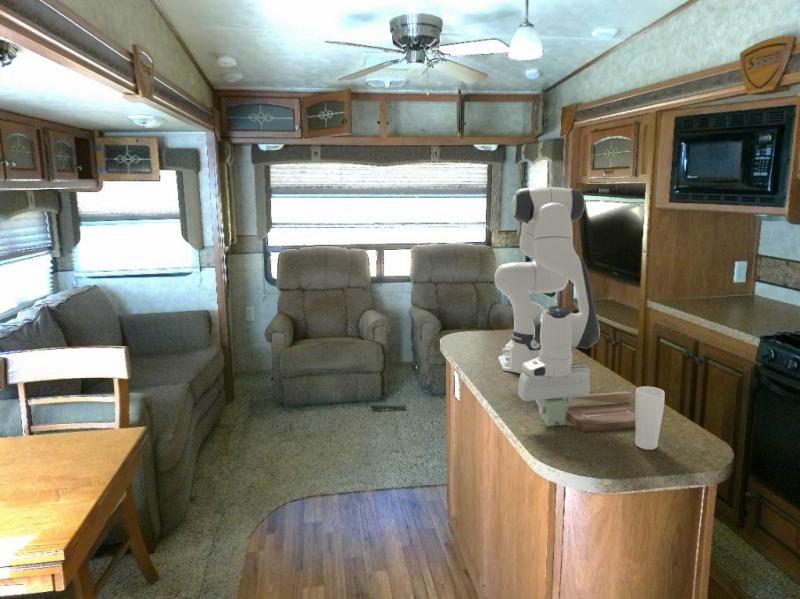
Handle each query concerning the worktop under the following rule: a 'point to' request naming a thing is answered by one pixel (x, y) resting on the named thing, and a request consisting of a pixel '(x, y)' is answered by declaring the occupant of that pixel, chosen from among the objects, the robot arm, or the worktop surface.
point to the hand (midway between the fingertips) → (553, 412)
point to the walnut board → (602, 411)
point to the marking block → (554, 411)
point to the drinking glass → (648, 416)
